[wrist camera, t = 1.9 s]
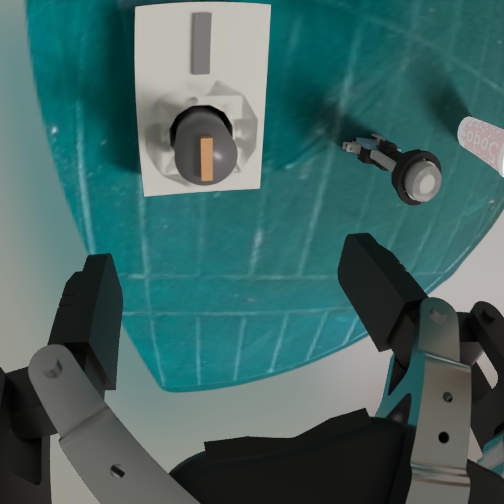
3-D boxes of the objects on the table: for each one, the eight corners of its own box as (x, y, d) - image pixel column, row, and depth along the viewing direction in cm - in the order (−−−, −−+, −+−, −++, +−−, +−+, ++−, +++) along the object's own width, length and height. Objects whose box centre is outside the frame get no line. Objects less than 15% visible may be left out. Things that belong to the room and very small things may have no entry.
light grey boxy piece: (142, 14, 19) (134, 6, 15) (257, 11, 21) (271, 4, 17) (149, 176, 29) (144, 198, 25) (249, 170, 31) (260, 190, 27)
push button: (336, 165, 32) (385, 210, 24) (344, 119, 29) (401, 151, 21) (384, 169, 34) (437, 211, 26) (394, 127, 30) (454, 160, 23)
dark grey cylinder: (176, 104, 25) (172, 130, 17) (220, 102, 26) (240, 127, 18) (177, 144, 27) (176, 191, 19) (219, 142, 28) (238, 187, 20)
